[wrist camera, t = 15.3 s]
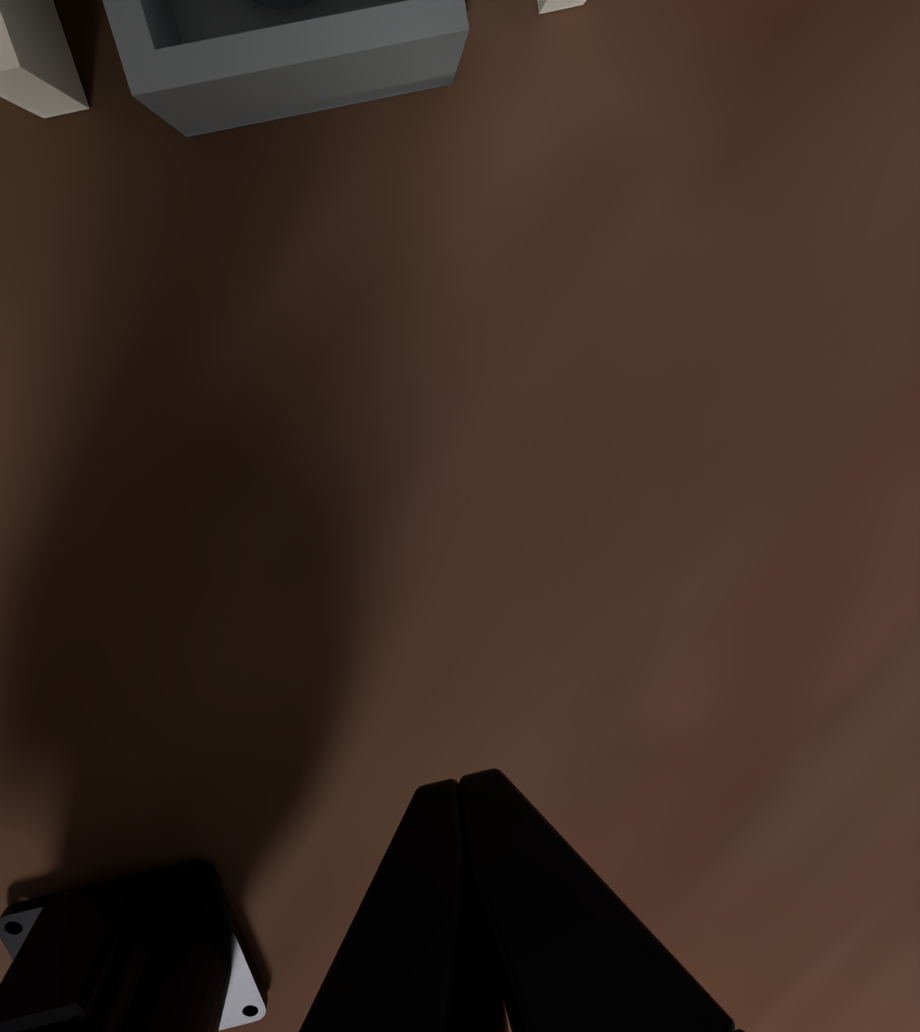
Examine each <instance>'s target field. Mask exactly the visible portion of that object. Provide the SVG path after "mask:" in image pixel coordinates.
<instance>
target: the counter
mask: <svg viewBox="0 0 920 1032" xmlns="http://www.w3.org/2000/svg"><path fill="white" fill-rule="evenodd" d="M585 1H586V0H537V3H538V10H539V14H542V13H547V12H552V11H557V10H561V9H566V8H571V7H576V6H580V5H583V4H584V3H585ZM0 97H2V98H4V99H6V100H8V101H10V102H12V103H14V104H16V105H18V106H20V107H22V108H24V109H26V110H28V111H30V112H32V113H34V114H36V115H38V116H40V117H42V118H48V117H53V116H58V115H63V114H67V113H72V112H77V111H82V110H86V109H90V108H89V105H88V102H87V99H86V96H85V93H84V90H83V87H82V84H81V81H80V78H79V75H78V72H77V69H76V67H75V64H74V61H73V58H72V55H71V52H70V49H69V46H68V43H67V40H66V37H65V34H64V31H63V28H62V25H61V22H60V19H59V16H58V13H57V10H56V7H55V4H54V1H53V0H0Z"/></svg>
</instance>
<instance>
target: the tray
mask: <svg viewBox="0 0 920 1032" xmlns="http://www.w3.org/2000/svg"><path fill="white" fill-rule="evenodd" d="M103 4H104V7H105V10H106V13H107V17H108V20H109V23H110V26H111V30H112V33H113V36H114V39H115V43H116V46H117V49H118V52H119V56H120V59H121V62H122V65H123V69H124V72H125V75H126V78H127V82H128V85H129V88H130V91H131V95H132V96H133V97H134V98H135V99H137V100H138V101H139V102H141V103H142V104H143V105H145V106H146V107H147V108H149V109H150V110H151V111H153V112H154V113H155V114H157V115H158V116H159V117H161V118H162V119H163V120H165V121H166V122H167V123H168V124H170V125H171V126H172V127H174V128H175V129H176V130H178V131H179V132H180V133H182V134H183V135H184V136H186V137H192V136H197V135H202V134H207V133H212V132H217V131H222V130H227V129H232V128H237V127H242V126H247V125H252V124H257V123H262V122H267V121H272V120H277V119H282V118H287V117H292V116H297V115H302V114H307V113H312V112H317V111H322V110H327V109H332V108H337V107H342V106H347V105H352V104H357V103H362V102H367V101H372V100H377V99H382V98H387V97H392V96H397V95H402V94H407V93H412V92H417V91H422V90H427V89H432V88H437V87H442V86H447V85H452V83H453V80H454V77H455V73H456V70H457V67H458V64H459V61H460V58H461V54H462V51H463V48H464V45H465V42H466V39H467V35H468V32H469V24H468V18H467V12H466V6H465V0H103Z"/></svg>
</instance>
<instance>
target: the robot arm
mask: <svg viewBox="0 0 920 1032" xmlns="http://www.w3.org/2000/svg"><path fill="white" fill-rule="evenodd" d="M192 877H198V878H200V879H202V880H196V879H193V878H192ZM0 938H1V940H2V942H3V943H4V945H5V947H6V949H7V950H8V952H9V954H10V956H11V957H12V959H13V962H12V964H11V965H10V967H9V969H8V971H7V973H6V974H5V976H4V978H3V980H2V982H1V983H0V1032H218V1031H219V1030H223V1029H227V1028H231V1027H235V1026H239V1025H243V1024H247V1023H251V1022H255V1021H257V1020H260V1019H261V1018H262V1017H263V1016H264V1015H265V1013H266V1008H267V1002H268V996H267V993H266V991H265V988H264V986H263V984H262V981H261V979H260V977H259V974H258V972H257V969H256V967H255V965H254V962H253V960H252V957H251V955H250V953H249V950H248V948H247V945H246V943H245V941H244V938H243V936H242V934H241V931H240V929H239V926H238V924H237V922H236V919H235V917H234V914H233V912H232V910H231V907H230V905H229V902H228V900H227V898H226V895H225V893H224V890H223V888H222V886H221V883H220V881H219V879H218V876H217V874H216V871H215V869H214V868H213V866H212V865H211V864H209V863H208V862H205V861H201V860H197V861H190V862H186V863H182V864H178V865H174V866H170V867H166V868H161V869H157V870H153V871H149V872H145V873H141V874H137V875H133V876H128V877H124V878H120V879H116V880H112V881H108V882H104V883H99V884H95V885H91V886H87V887H83V888H79V889H75V890H71V891H66V892H62V893H58V894H54V895H50V896H46V897H42V898H37V899H33V900H29V901H25V902H21V903H17V904H13V905H11V906H8V907H7V908H6V909H5V910H4V911H3V913H2V915H1V916H0ZM505 1008H506V1010H505ZM506 1011H507V1015H508V1019H509V1023H510V1026H511V1030H512V1032H745V1031H743V1030H741V1029H738V1030H735V1023H734V1021H733V1019H732V1018H731V1017H730V1016H729V1015H728V1014H727V1013H726V1012H725V1011H724V1010H723V1008H722V1007H721V1006H720V1005H719V1004H718V1003H717V1002H716V1001H715V1000H714V999H713V998H712V997H711V996H710V995H709V993H708V992H707V991H706V990H705V989H704V988H703V987H702V986H701V985H700V984H699V983H698V982H697V981H696V980H695V978H694V977H693V976H692V975H691V974H690V973H689V972H688V971H687V970H686V969H685V968H684V967H683V966H682V965H681V963H680V962H679V961H678V960H677V959H676V958H675V957H674V956H673V955H672V954H671V953H670V952H669V951H668V950H667V948H666V947H665V946H664V945H663V944H662V943H661V942H660V941H659V940H658V939H657V938H656V937H655V936H654V935H653V933H652V932H651V931H650V930H649V929H648V928H647V927H646V926H645V925H644V924H643V923H642V922H641V921H640V919H639V918H638V917H637V916H636V915H635V914H634V913H633V912H632V911H631V910H630V909H629V908H628V907H627V906H626V904H625V903H624V902H623V901H622V900H621V899H620V898H619V897H618V896H617V895H616V894H615V893H614V892H613V891H612V889H611V888H610V887H609V886H608V885H607V884H606V883H605V882H604V881H603V880H602V879H601V878H600V877H599V876H598V874H597V873H596V872H595V871H594V870H593V869H592V868H591V867H590V866H589V865H588V864H587V863H586V862H585V861H584V859H583V858H582V857H581V856H580V855H579V854H578V853H577V852H576V851H575V850H574V849H573V848H572V847H571V846H570V844H569V843H568V842H567V841H566V840H565V839H564V838H563V837H562V836H561V835H560V834H559V833H558V832H557V831H556V829H555V828H554V827H553V826H552V825H551V824H550V823H549V822H548V821H547V820H546V819H545V818H544V817H543V815H542V814H541V813H540V812H539V811H538V810H537V809H536V808H535V807H534V806H533V805H532V804H531V803H530V802H529V800H528V799H527V798H526V797H525V796H524V795H523V794H522V793H521V792H520V791H519V790H518V789H517V788H516V787H515V785H514V784H513V783H512V782H511V781H510V780H509V779H508V778H507V777H506V776H505V775H504V774H503V773H502V772H501V771H500V770H498V769H488V770H484V771H480V772H476V773H472V774H468V775H464V776H463V777H462V778H461V779H460V782H459V783H458V782H457V781H456V780H455V779H447V780H443V781H439V782H435V783H430V784H426V785H423V786H420V787H419V788H418V789H417V790H416V791H415V793H414V795H413V797H412V799H411V801H410V803H409V805H408V808H407V810H406V812H405V814H404V816H403V818H402V820H401V822H400V824H399V826H398V828H397V830H396V832H395V834H394V836H393V838H392V841H391V843H390V845H389V847H388V849H387V851H386V853H385V855H384V857H383V859H382V861H381V863H380V865H379V867H378V869H377V872H376V874H375V876H374V878H373V880H372V882H371V884H370V886H369V888H368V890H367V892H366V894H365V896H364V898H363V900H362V902H361V905H360V907H359V909H358V911H357V913H356V915H355V917H354V919H353V921H352V923H351V925H350V927H349V929H348V931H347V933H346V936H345V938H344V940H343V942H342V944H341V946H340V948H339V950H338V952H337V954H336V956H335V958H334V960H333V962H332V964H331V966H330V969H329V971H328V973H327V975H326V977H325V979H324V981H323V983H322V985H321V987H320V989H319V991H318V993H317V995H316V997H315V1000H314V1002H313V1004H312V1006H311V1008H310V1010H309V1012H308V1014H307V1016H306V1018H305V1020H304V1022H303V1024H302V1026H301V1028H300V1030H299V1032H508V1023H507V1017H506Z"/></svg>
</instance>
